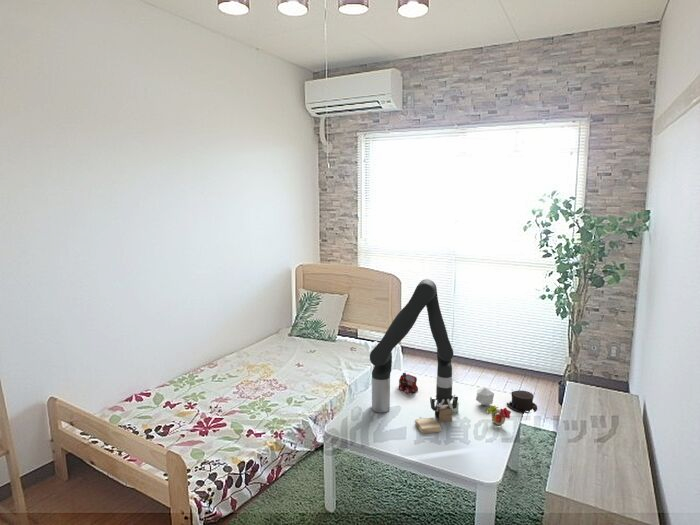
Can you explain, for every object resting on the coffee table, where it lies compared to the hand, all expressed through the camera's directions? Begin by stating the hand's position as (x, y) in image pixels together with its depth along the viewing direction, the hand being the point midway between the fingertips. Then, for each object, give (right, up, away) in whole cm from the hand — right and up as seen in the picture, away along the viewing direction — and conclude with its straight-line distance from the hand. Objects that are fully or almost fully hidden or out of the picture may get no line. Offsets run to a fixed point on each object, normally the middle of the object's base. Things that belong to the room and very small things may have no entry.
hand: (443, 417), depth 222 cm
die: (+24, +1, +15) cm, 28 cm away
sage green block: (+6, 0, +10) cm, 11 cm away
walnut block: (0, -1, 0) cm, 1 cm away
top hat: (+43, 0, +13) cm, 45 cm away
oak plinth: (-9, -2, -9) cm, 13 cm away
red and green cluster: (+25, -2, -5) cm, 26 cm away
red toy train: (-13, +3, +33) cm, 36 cm away
